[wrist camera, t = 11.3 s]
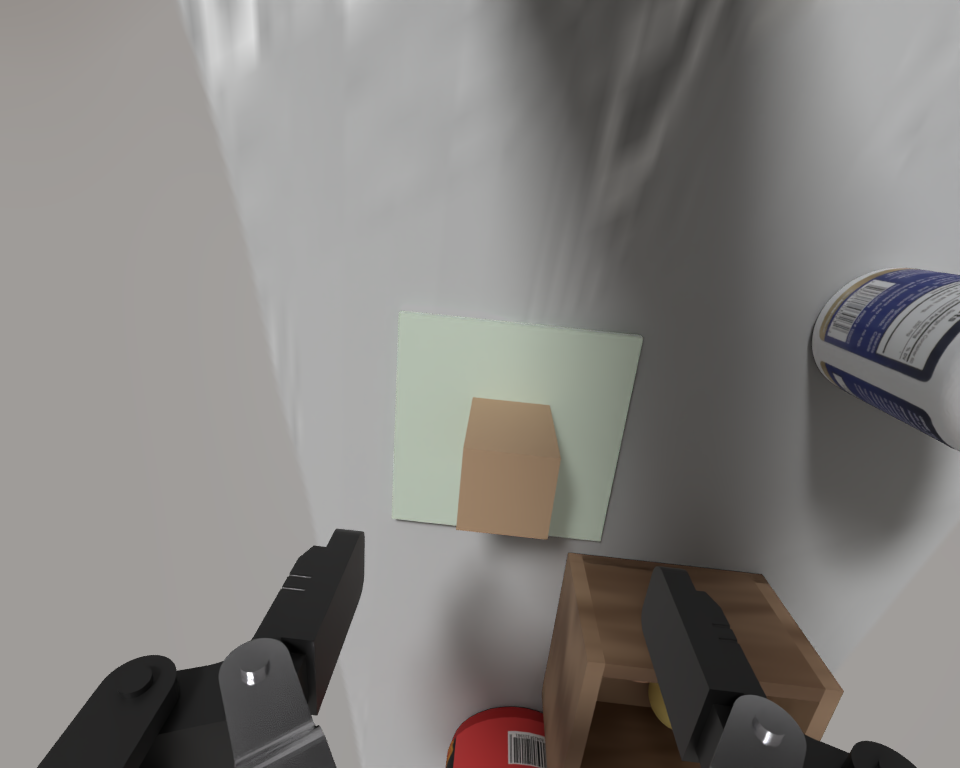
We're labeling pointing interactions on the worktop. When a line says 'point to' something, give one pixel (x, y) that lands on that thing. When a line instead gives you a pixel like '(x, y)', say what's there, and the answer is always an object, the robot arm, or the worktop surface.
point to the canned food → (500, 740)
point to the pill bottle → (897, 346)
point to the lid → (509, 424)
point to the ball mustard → (658, 704)
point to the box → (625, 657)
